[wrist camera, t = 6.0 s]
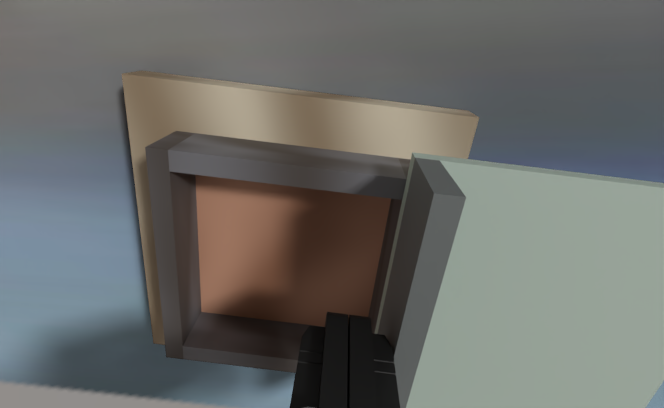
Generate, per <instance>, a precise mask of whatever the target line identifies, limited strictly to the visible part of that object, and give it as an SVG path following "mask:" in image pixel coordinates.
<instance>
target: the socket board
mask: <svg viewBox="0 0 664 408" xmlns="http://www.w3.org/2000/svg"><path fill="white" fill-rule="evenodd" d="M122 80H123V88H124V97H125V105H126V114H127V122H128V131H129V139H130V148H131V156H132V165H133V173H134V182H135V190H136V199H137V207H138V216H139V224H140V233H141V241H142V249H143V258H144V266H145V275H146V283H147V292H148V300H149V309H150V317H151V326H152V334H153V343H154V344H162V345H165V349H166V357H170V358H178V359H186V360H195V361H203V362H211V363H219V364H228V365H236V366H244V367H252V368H261V369H269V370H277V371H285V372H294V373H296V368H297V362H298V356H299V350H300V344H301V338H302V335H303V334H304V333H305V331H306V330H307V329H308V327H309V326H318V327H325V321H326V315H327V312H334V313H342V314H348V317H349V314H350V315H358V316H366V317H370V318H371V327H372V333H373V334H374V333H375V328H376V323H377V319H378V314H379V309H380V304H381V299H382V295H383V290H384V285H385V280H386V275H387V271H388V266H389V261H390V256H391V252H392V247H393V242H394V237H395V232H396V228H397V223H398V218H399V213H400V208H401V204H402V199H403V194H404V189H405V185H406V180H407V175H408V170H409V165H410V161H411V156H412V152H414V153H422V154H430V155H438V156H446V157H454V158H463V159H468V156H469V153H470V149H471V145H472V142H473V138H474V135H475V131H476V127H477V124H478V120H479V117H477V116H476V115H474V114H473V113H471V112H469V111H466V110H458V109H450V108H442V107H434V106H426V105H417V104H409V103H401V102H393V101H385V100H377V99H369V98H360V97H352V96H344V95H336V94H328V93H320V92H311V91H303V90H295V89H287V88H279V87H271V86H263V85H254V84H246V83H238V82H230V81H222V80H214V79H206V78H197V77H189V76H181V75H173V74H165V73H157V72H148V71H136V72H130V73H123V74H122Z"/></svg>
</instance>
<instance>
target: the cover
mask: <svg viewBox="0 0 664 408" xmlns="http://www.w3.org/2000/svg"><path fill="white" fill-rule="evenodd" d="M374 334H381V335H385V336H386V338H387V340H388V341H389V343H390V345H391V346H392V349H393V356H394V364H395V371H396V374H395V375H396V379H397V387H398V394H399V402H400V408H645V407H646V406H647V404H648V403H649V401H650V400H651V398H652V397H653V396H654V394H655V393H656V391H657V390H658V388H659V387H660V385H661V384H662V382H663V381H664V183H659V182H650V181H642V180H634V179H626V178H618V177H610V176H601V175H593V174H585V173H577V172H569V171H561V170H552V169H544V168H536V167H528V166H520V165H512V164H503V163H495V162H487V161H479V160H471V159H463V158H454V157H446V156H438V155H430V154H422V153H414V152H412V156H411V161H410V165H409V170H408V175H407V180H406V185H405V189H404V194H403V199H402V204H401V208H400V213H399V218H398V223H397V228H396V232H395V237H394V242H393V247H392V252H391V256H390V261H389V266H388V271H387V275H386V280H385V285H384V290H383V295H382V299H381V304H380V309H379V314H378V319H377V323H376V328H375V333H374Z"/></svg>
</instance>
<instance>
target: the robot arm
mask: <svg viewBox="0 0 664 408" xmlns="http://www.w3.org/2000/svg"><path fill="white" fill-rule="evenodd" d="M395 374H396V371H395V364H394V356H393V349H392V346H391V345H390V343H389V341H388V340H387V338H386V336H385V335H381V334H373V333H372V327H371V318H370V317H366V316H358V315H350V314H349V317H348V314H342V313H334V312H327V315H326V321H325V327H318V326H309V327H308V329H307V330H306V331H305V333H304V334H303V335H302V338H301V344H300V350H299V356H298V362H297V368H296V374H295V380H294V386H293V392H292V398H291V404H290V408H400V402H399V394H398V387H397V379H396V375H395Z"/></svg>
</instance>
